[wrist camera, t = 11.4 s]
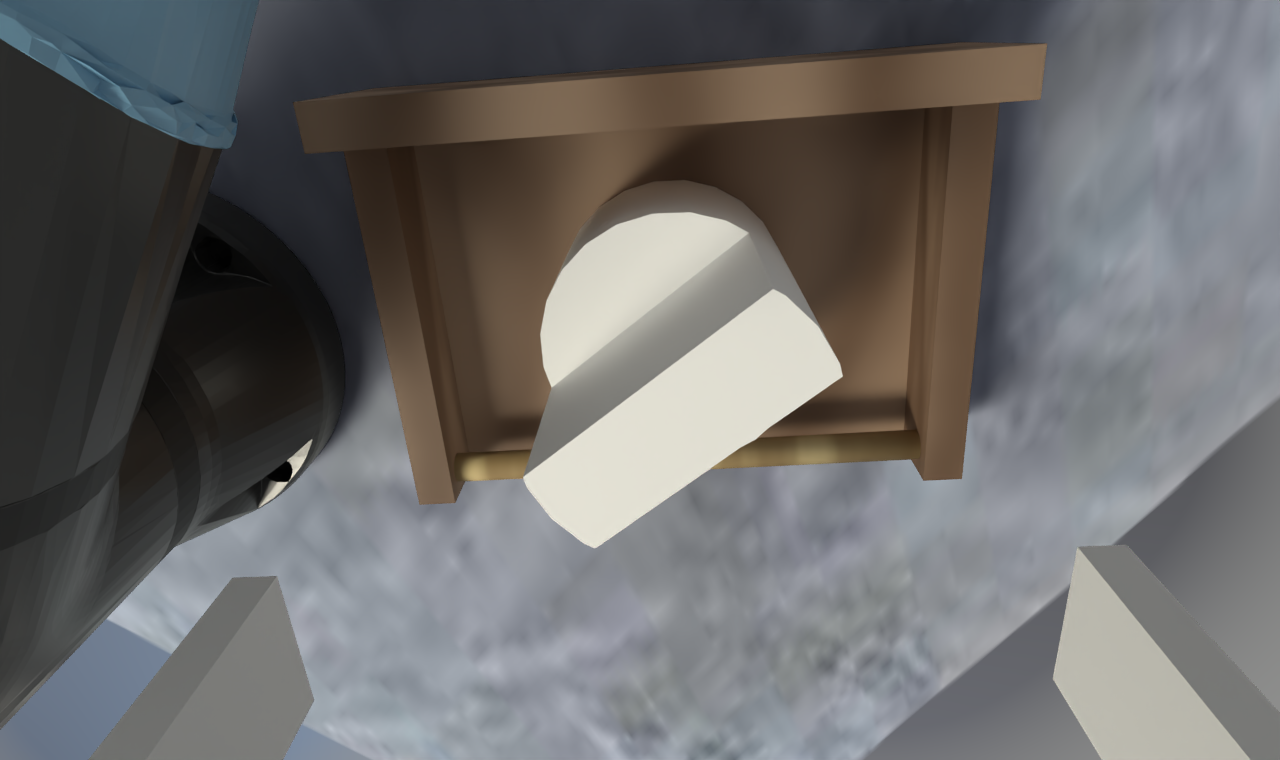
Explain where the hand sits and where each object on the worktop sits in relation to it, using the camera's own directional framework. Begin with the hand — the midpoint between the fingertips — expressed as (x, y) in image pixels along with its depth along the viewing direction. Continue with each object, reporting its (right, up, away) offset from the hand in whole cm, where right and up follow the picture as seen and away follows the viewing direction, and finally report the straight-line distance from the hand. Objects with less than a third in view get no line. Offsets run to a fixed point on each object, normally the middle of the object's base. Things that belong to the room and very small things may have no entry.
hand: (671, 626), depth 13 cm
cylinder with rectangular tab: (+1, +8, +19) cm, 20 cm away
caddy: (+1, +8, +19) cm, 21 cm away
